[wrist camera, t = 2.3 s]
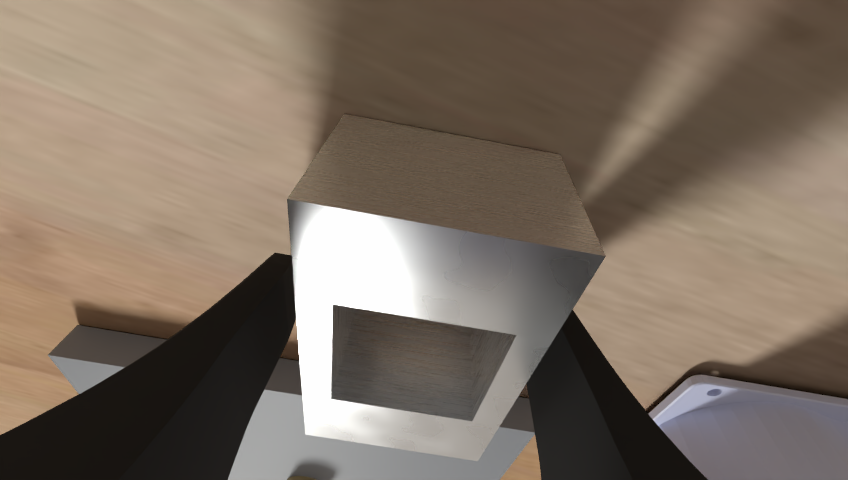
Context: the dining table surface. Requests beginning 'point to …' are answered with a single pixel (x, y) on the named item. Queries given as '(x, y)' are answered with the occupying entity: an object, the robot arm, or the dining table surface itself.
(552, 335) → the block with square hole
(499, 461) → the pin board
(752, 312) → the dining table surface
